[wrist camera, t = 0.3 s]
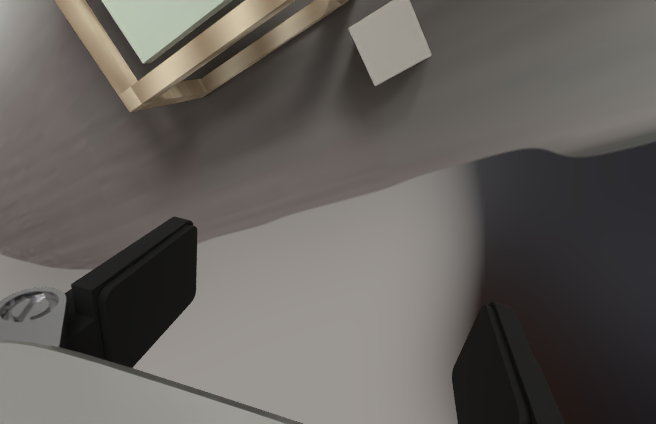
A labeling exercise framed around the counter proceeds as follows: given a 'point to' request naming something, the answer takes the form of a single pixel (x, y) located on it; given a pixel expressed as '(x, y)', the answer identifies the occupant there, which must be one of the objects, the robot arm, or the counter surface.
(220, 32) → the frame
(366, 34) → the cube
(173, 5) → the trapdoor
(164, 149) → the counter surface
